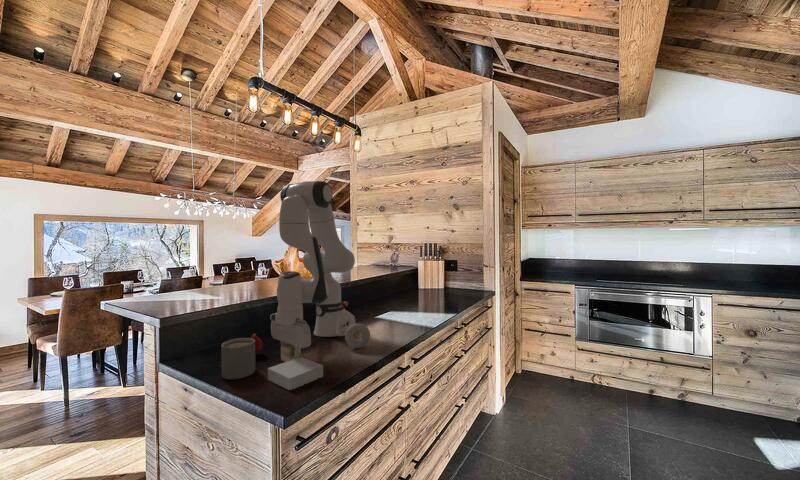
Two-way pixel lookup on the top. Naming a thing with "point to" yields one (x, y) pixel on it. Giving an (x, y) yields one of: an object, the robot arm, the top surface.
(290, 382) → the painted block
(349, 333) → the donut
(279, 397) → the top surface
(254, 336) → the onion
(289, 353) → the maple cube
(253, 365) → the coffee mug
